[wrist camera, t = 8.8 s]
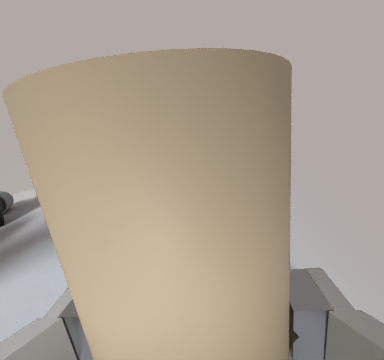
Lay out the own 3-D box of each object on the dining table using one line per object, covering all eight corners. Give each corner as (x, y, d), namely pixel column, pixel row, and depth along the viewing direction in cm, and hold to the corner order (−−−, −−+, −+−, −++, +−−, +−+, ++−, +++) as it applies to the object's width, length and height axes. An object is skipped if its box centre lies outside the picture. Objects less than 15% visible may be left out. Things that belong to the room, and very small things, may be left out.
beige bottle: (123, 594, 6) (-134, 86, 2) (162, 371, 11) (105, 112, 8) (320, 619, 5) (398, -9, 2) (264, 372, 11) (253, 91, 7)
